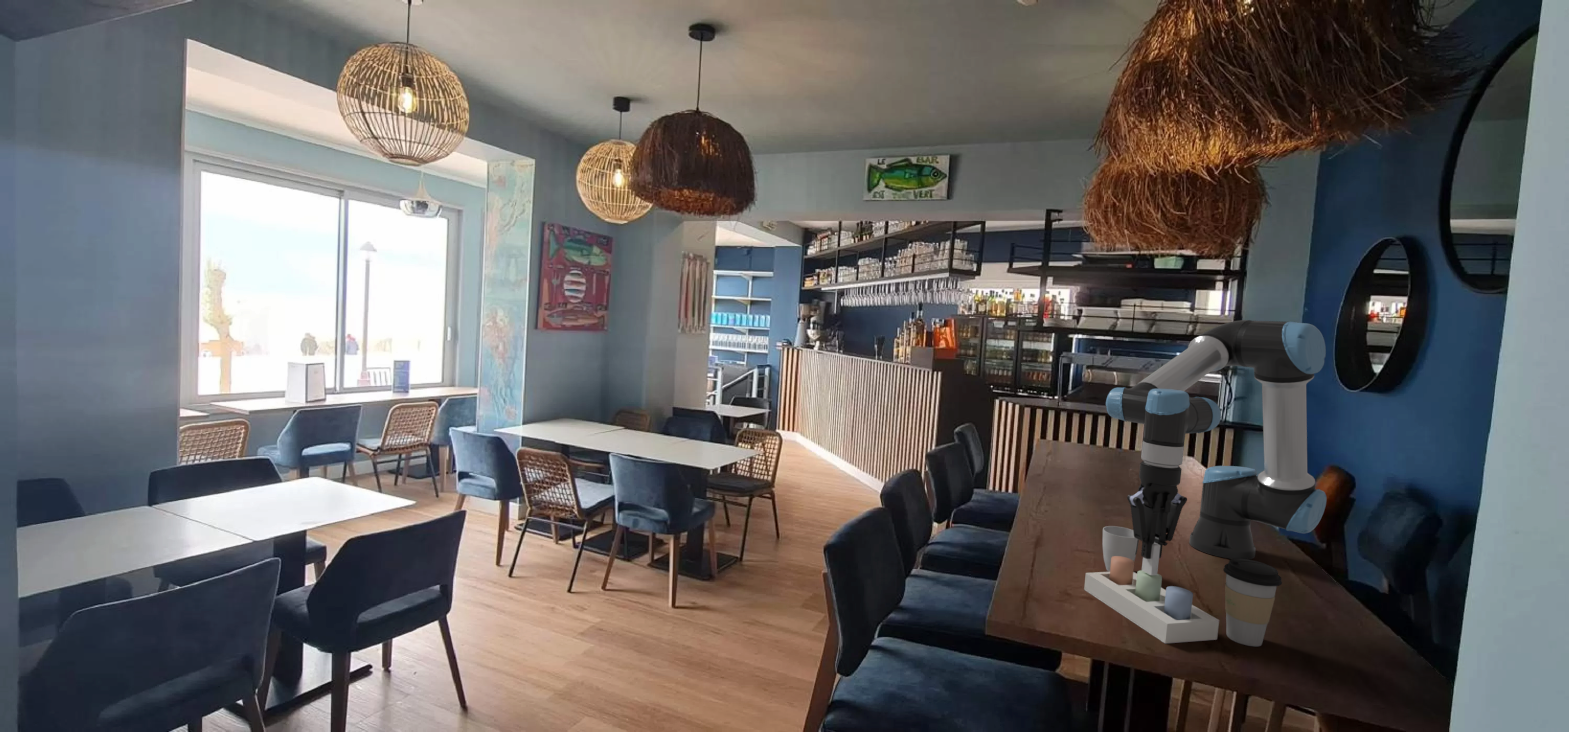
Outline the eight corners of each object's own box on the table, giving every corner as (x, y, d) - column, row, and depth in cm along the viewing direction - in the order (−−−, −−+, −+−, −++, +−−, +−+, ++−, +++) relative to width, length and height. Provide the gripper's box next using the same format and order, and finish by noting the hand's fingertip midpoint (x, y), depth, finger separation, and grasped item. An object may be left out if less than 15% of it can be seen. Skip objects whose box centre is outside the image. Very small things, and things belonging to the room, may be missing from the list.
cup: (1140, 579, 158) (1144, 538, 158) (1104, 575, 160) (1107, 535, 159) (1130, 566, 166) (1133, 527, 165) (1095, 562, 168) (1099, 524, 167)
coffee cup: (1205, 627, 135) (1213, 556, 134) (1248, 627, 136) (1256, 557, 135) (1240, 651, 126) (1249, 575, 124) (1286, 651, 127) (1296, 576, 125)
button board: (1129, 587, 154) (1131, 570, 153) (1217, 639, 130) (1219, 619, 130) (1084, 589, 151) (1085, 572, 151) (1165, 643, 128) (1167, 623, 127)
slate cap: (1177, 609, 135) (1180, 585, 135) (1195, 619, 131) (1198, 595, 130) (1158, 610, 134) (1160, 586, 134) (1176, 621, 130) (1178, 596, 129)
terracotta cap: (1122, 576, 151) (1124, 555, 150) (1137, 585, 146) (1139, 563, 146) (1104, 577, 150) (1106, 556, 149) (1119, 586, 145) (1121, 564, 145)
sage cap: (1148, 592, 143) (1150, 569, 143) (1164, 601, 139) (1167, 578, 138) (1130, 593, 142) (1132, 570, 142) (1146, 602, 138) (1148, 579, 137)
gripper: (1173, 458, 143) (1161, 564, 145) (1121, 459, 140) (1110, 566, 142) (1202, 467, 135) (1189, 578, 137) (1147, 467, 132) (1135, 581, 135)
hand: (1149, 572), depth 140 cm, fingers closed
